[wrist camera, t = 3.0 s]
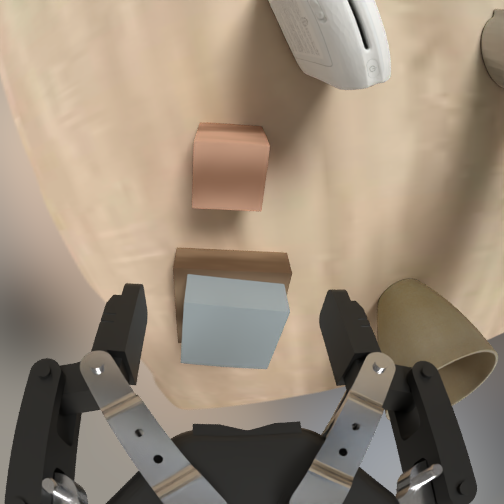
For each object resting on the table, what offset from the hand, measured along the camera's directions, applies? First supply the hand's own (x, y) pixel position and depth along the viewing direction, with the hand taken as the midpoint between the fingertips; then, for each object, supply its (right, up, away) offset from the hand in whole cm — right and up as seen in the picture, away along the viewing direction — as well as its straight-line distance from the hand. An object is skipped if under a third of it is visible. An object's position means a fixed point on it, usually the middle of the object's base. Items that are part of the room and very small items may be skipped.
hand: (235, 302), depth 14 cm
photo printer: (+5, +22, +8) cm, 24 cm away
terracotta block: (-1, +11, +15) cm, 19 cm away
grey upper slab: (-2, -5, +22) cm, 23 cm away
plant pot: (+21, -4, +29) cm, 36 cm away
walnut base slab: (-2, -2, +25) cm, 26 cm away
